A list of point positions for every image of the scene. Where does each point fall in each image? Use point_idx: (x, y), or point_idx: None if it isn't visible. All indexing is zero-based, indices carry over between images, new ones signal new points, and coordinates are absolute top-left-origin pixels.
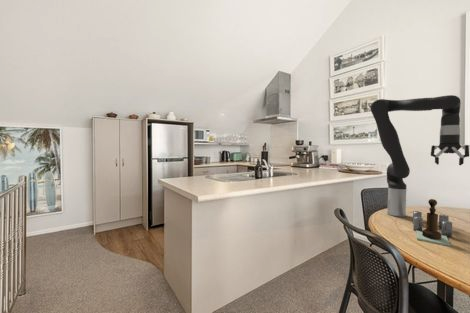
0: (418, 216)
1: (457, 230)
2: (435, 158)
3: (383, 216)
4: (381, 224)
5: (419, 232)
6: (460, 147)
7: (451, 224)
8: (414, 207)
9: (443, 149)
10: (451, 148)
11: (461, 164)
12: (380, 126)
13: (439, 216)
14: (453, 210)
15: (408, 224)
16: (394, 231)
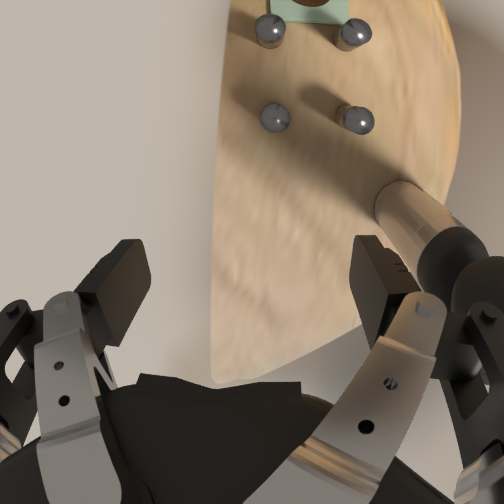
0: (353, 106)
1: (237, 126)
2: (421, 291)
3: (436, 156)
4: (436, 54)
5: (340, 9)
6: (2, 461)
7: (258, 19)
8: (330, 335)
9: (370, 466)
10: (144, 499)
11: (122, 241)
12: None
13: (288, 113)
14: (235, 357)
15: (371, 97)
16: (398, 3)
